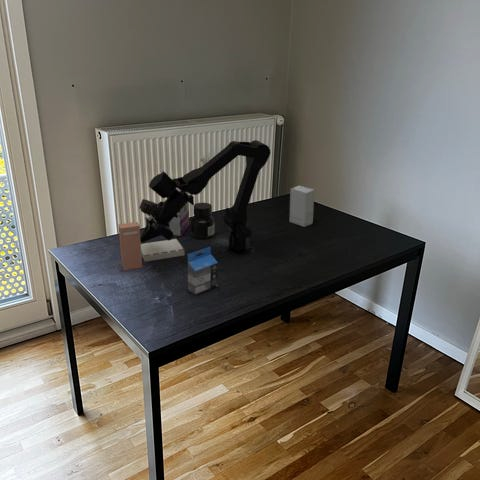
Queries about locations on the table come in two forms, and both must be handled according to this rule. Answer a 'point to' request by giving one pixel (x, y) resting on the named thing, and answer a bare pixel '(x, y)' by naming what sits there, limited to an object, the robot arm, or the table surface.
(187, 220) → the candy bar box
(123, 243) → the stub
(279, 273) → the table surface
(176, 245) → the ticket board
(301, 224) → the skincare box
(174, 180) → the robot arm
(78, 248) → the table surface
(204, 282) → the label tape cartridge
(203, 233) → the ink bottle
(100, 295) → the table surface
